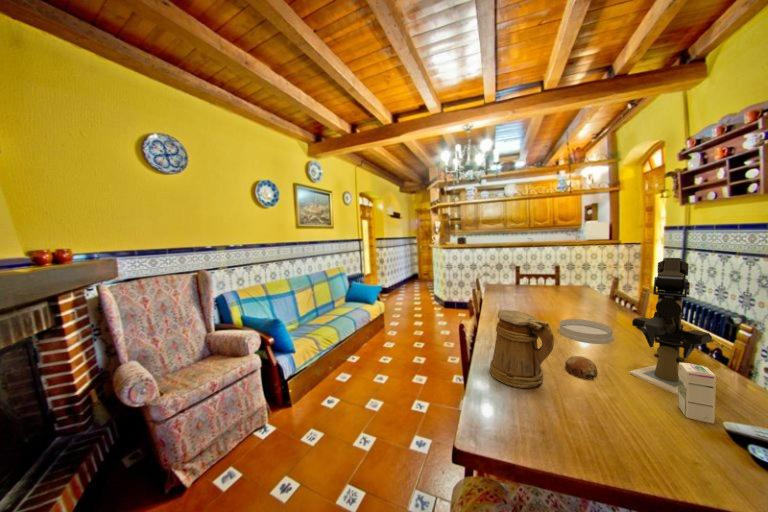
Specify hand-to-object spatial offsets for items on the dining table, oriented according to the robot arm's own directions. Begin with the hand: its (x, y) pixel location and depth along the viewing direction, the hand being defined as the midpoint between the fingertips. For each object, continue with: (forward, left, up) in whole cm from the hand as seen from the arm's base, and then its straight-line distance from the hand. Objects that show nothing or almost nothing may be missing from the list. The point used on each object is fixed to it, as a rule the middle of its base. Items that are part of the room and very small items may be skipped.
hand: (667, 352), depth 92 cm
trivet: (0, 0, -10) cm, 10 cm away
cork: (0, 0, -10) cm, 10 cm away
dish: (-13, -40, -11) cm, 43 cm away
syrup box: (+14, +14, -11) cm, 22 cm away
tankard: (+46, -18, -11) cm, 50 cm away
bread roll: (+22, -14, -11) cm, 28 cm away
